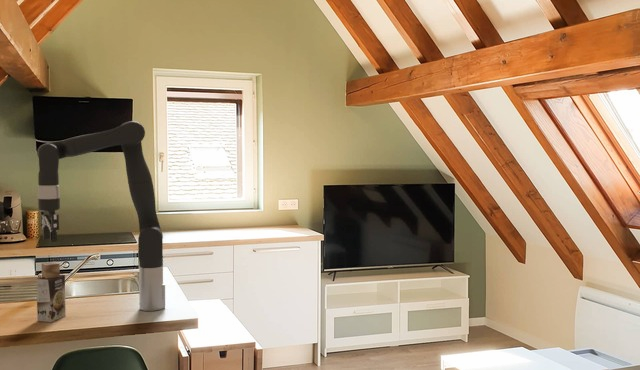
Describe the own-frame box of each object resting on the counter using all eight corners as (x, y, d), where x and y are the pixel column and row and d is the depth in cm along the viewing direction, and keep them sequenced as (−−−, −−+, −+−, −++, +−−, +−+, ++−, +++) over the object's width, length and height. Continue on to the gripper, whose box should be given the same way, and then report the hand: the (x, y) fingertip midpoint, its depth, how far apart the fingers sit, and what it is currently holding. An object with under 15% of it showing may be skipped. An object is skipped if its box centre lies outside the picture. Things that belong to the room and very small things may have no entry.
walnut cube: (55, 274, 248) (55, 261, 248) (59, 276, 244) (59, 263, 244) (41, 276, 245) (41, 263, 245) (45, 278, 241) (45, 265, 241)
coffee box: (52, 322, 241) (51, 279, 240) (36, 321, 242) (35, 278, 241) (66, 315, 250) (65, 274, 249) (51, 314, 251) (50, 273, 250)
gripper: (65, 198, 239) (66, 241, 240) (53, 195, 250) (54, 236, 252) (44, 199, 235) (45, 243, 236) (32, 196, 246) (34, 238, 247)
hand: (50, 240), depth 244 cm, fingers open, 8 cm apart
